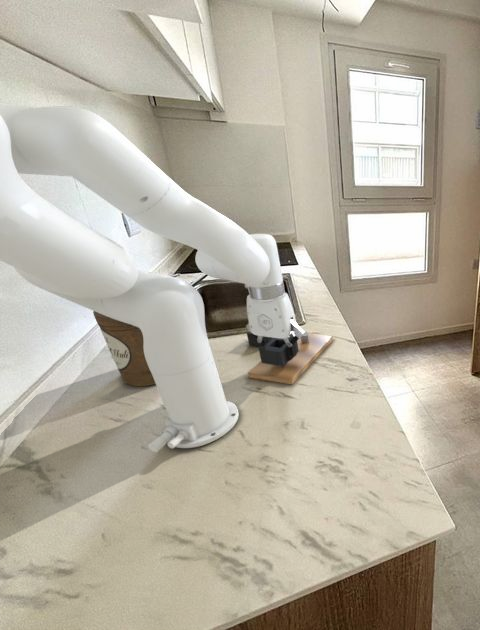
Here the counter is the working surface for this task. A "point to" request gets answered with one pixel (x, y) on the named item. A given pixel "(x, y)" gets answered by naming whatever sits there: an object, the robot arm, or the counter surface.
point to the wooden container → (126, 350)
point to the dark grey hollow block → (253, 340)
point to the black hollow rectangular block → (275, 352)
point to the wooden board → (293, 360)
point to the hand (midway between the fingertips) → (280, 355)
